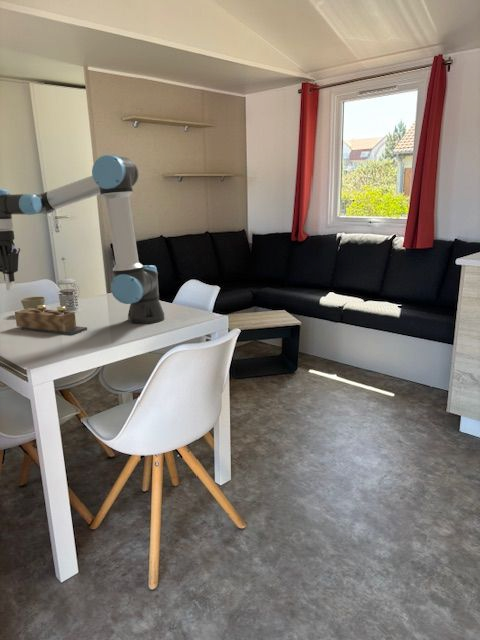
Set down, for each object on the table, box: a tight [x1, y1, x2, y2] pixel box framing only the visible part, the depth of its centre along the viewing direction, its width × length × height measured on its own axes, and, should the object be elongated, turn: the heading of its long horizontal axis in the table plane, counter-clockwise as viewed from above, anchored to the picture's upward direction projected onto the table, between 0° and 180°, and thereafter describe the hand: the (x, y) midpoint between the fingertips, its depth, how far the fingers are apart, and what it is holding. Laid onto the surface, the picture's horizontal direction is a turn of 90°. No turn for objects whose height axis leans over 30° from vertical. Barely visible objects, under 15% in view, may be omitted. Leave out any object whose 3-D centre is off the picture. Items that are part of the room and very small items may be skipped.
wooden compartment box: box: [14, 308, 77, 331], centre depth 185 cm, size 24×7×6 cm, turn 68°
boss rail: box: [20, 304, 88, 336], centre depth 183 cm, size 26×8×10 cm, turn 68°
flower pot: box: [20, 296, 46, 309], centre depth 212 cm, size 10×10×7 cm
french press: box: [56, 256, 82, 314], centre depth 214 cm, size 10×12×25 cm
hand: (10, 289), depth 188 cm, fingers closed
